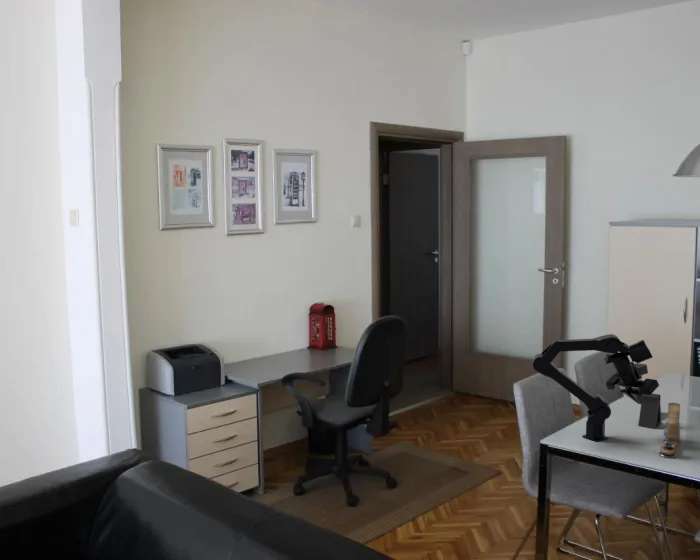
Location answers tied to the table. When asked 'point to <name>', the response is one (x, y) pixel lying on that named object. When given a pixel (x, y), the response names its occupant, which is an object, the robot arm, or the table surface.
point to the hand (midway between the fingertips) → (640, 403)
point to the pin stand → (668, 445)
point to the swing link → (672, 428)
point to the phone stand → (650, 411)
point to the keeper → (666, 430)
